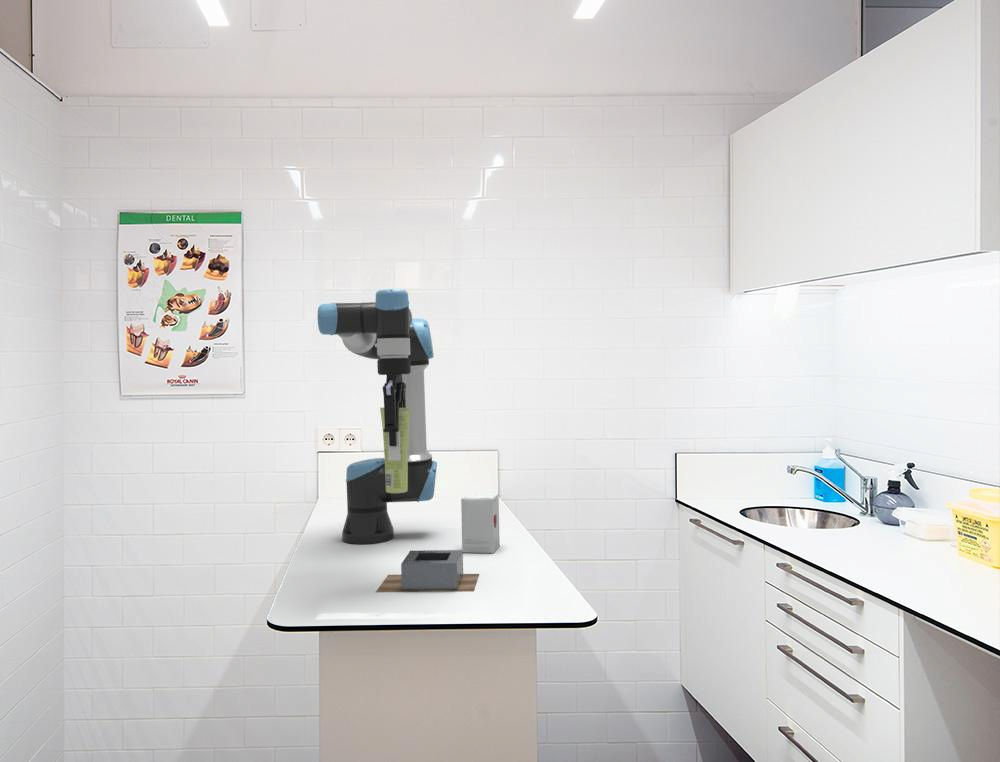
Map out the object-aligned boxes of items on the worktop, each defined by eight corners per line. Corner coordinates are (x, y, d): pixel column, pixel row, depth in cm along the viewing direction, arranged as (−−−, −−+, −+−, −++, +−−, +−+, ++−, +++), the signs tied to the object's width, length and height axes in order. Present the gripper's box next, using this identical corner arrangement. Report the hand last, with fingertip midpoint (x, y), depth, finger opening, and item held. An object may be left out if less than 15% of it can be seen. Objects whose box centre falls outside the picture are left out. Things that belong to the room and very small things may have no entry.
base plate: (388, 579, 190) (388, 574, 190) (479, 578, 189) (479, 573, 189) (375, 597, 176) (375, 592, 176) (474, 596, 175) (473, 591, 175)
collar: (411, 575, 189) (410, 550, 189) (463, 575, 188) (462, 550, 188) (401, 590, 177) (401, 563, 177) (457, 589, 176) (456, 563, 176)
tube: (406, 489, 186) (403, 406, 185) (413, 492, 181) (410, 407, 180) (383, 491, 183) (380, 407, 183) (389, 495, 179) (386, 408, 178)
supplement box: (494, 553, 213) (492, 498, 212) (461, 553, 214) (460, 498, 214) (500, 545, 221) (499, 492, 221) (469, 545, 223) (468, 492, 223)
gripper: (386, 357, 190) (389, 454, 191) (367, 357, 173) (371, 464, 173) (417, 357, 190) (420, 454, 190) (401, 356, 172) (405, 463, 173)
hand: (396, 458), depth 182 cm, fingers closed on tube, 4 cm apart
